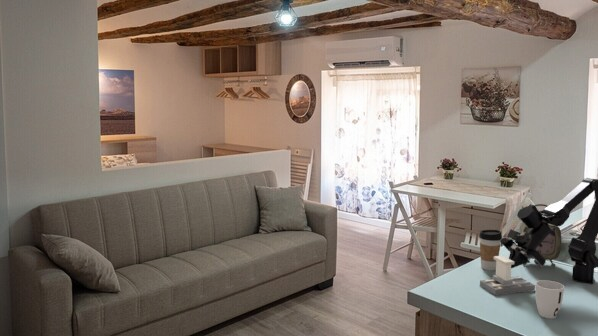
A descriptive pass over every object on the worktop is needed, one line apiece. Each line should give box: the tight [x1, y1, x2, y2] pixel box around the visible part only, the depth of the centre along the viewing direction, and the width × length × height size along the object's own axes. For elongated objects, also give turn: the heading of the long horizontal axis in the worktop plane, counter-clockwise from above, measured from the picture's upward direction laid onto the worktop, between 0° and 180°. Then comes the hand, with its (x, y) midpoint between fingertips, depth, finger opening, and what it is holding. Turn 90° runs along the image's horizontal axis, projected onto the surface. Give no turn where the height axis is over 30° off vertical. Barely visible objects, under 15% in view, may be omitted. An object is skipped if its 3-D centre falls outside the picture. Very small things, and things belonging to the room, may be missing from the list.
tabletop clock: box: [518, 203, 562, 268], centre depth 209 cm, size 14×9×25 cm, turn 77°
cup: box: [534, 279, 565, 319], centre depth 164 cm, size 8×8×10 cm
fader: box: [492, 255, 514, 284], centre depth 185 cm, size 4×7×8 cm, turn 14°
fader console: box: [479, 276, 536, 296], centre depth 186 cm, size 16×9×3 cm, turn 104°
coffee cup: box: [478, 229, 503, 271], centre depth 207 cm, size 8×8×15 cm
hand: (506, 268), depth 185 cm, fingers closed, pressing on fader
